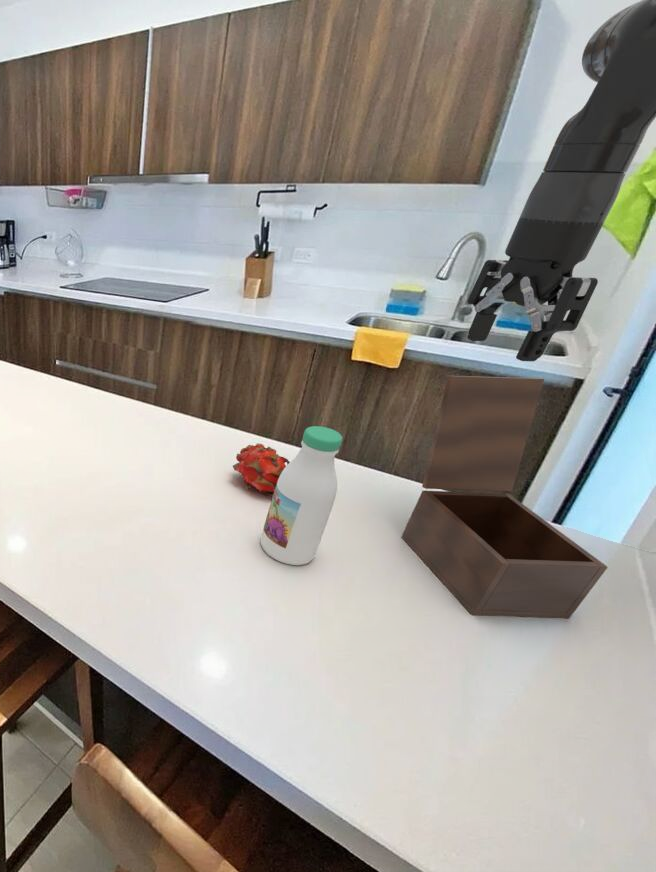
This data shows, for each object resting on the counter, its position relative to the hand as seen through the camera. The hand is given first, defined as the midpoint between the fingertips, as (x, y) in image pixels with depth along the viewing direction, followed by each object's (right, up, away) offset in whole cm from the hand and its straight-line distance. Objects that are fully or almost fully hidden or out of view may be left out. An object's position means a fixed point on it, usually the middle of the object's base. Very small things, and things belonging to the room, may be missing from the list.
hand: (499, 349), depth 66 cm
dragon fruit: (-22, -20, +24) cm, 38 cm away
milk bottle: (-24, -29, +9) cm, 39 cm away
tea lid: (+2, -11, +5) cm, 13 cm away
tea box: (+2, -31, +5) cm, 32 cm away
